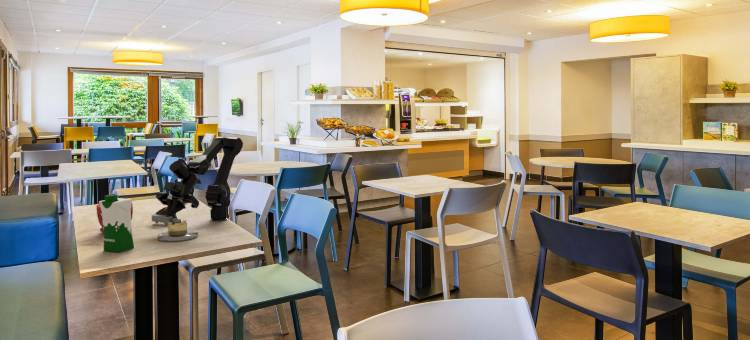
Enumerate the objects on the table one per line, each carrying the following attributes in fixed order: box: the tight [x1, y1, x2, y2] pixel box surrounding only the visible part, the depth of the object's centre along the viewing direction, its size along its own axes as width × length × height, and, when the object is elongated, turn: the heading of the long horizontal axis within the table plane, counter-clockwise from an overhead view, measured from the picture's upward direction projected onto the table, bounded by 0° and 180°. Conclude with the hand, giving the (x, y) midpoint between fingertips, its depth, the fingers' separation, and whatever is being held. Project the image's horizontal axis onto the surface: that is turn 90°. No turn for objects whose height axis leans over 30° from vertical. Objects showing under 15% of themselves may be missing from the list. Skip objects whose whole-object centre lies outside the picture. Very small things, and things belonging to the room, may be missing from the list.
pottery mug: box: [153, 206, 178, 224], centre depth 233 cm, size 12×10×8 cm
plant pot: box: [96, 203, 134, 234], centre depth 215 cm, size 13×13×12 cm
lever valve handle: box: [151, 213, 188, 236], centre depth 209 cm, size 16×7×6 cm, turn 66°
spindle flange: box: [156, 218, 199, 243], centre depth 207 cm, size 15×15×7 cm
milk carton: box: [98, 193, 135, 254], centre depth 189 cm, size 9×9×20 cm
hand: (166, 217), depth 211 cm, fingers closed
